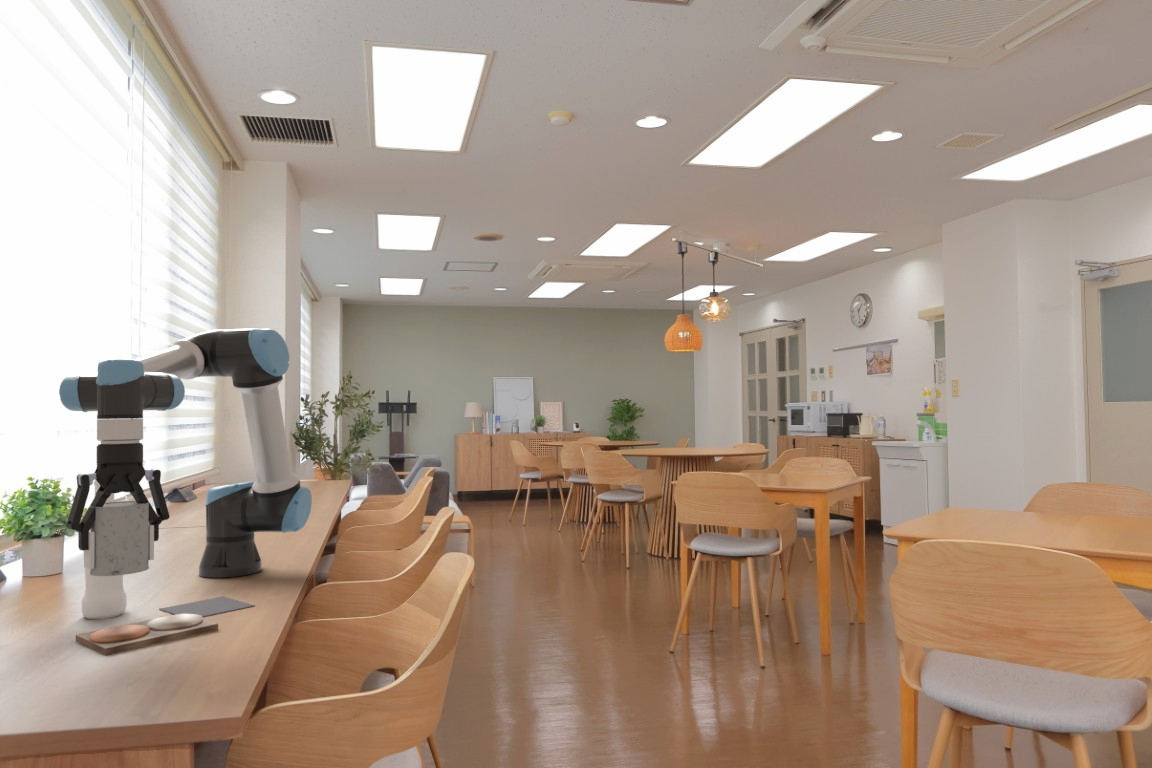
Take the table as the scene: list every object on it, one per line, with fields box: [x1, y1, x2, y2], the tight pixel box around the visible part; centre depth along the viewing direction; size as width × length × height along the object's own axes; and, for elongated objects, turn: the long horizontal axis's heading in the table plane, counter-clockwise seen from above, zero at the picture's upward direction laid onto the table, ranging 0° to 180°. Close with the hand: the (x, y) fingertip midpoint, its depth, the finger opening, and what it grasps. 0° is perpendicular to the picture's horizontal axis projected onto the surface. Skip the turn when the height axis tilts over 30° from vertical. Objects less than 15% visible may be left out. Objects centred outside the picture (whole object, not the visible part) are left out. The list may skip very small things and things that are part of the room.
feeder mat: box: [159, 596, 256, 618], centre depth 173 cm, size 14×14×1 cm
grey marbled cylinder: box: [89, 500, 150, 576], centre depth 148 cm, size 10×10×12 cm
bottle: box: [81, 479, 127, 620], centre depth 168 cm, size 8×8×30 cm
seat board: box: [75, 613, 219, 656], centre depth 152 cm, size 20×14×2 cm
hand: (119, 563), depth 148 cm, fingers closed on grey marbled cylinder, 9 cm apart
